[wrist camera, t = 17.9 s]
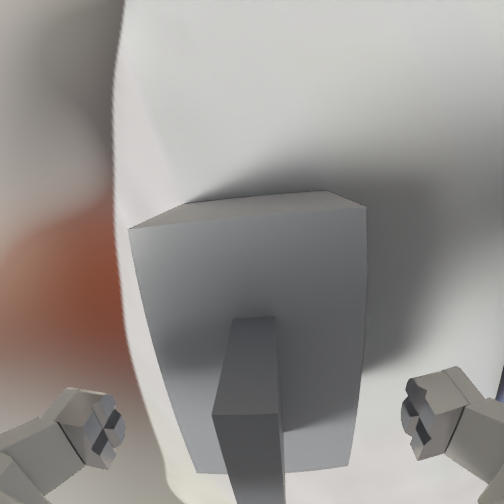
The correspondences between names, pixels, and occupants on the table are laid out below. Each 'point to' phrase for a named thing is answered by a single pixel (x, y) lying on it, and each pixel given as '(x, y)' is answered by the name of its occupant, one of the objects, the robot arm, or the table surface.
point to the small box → (501, 389)
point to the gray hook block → (258, 331)
